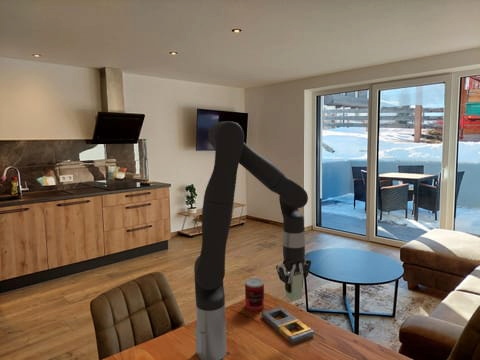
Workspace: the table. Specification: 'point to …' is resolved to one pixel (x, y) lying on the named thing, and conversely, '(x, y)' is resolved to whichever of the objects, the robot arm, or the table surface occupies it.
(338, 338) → the table surface
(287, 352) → the table surface
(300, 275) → the sage block
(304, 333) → the grey yellow flat board
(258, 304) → the canned food
